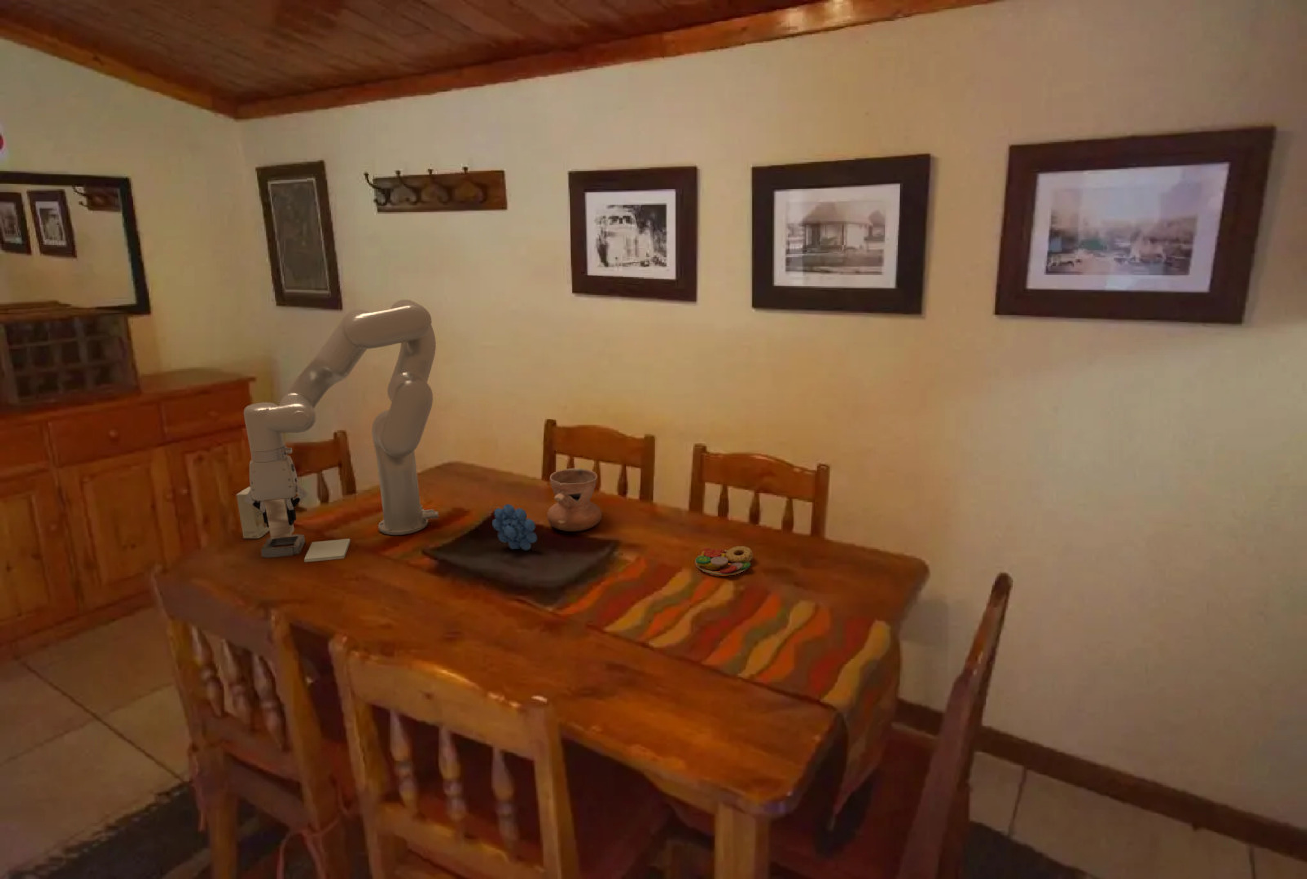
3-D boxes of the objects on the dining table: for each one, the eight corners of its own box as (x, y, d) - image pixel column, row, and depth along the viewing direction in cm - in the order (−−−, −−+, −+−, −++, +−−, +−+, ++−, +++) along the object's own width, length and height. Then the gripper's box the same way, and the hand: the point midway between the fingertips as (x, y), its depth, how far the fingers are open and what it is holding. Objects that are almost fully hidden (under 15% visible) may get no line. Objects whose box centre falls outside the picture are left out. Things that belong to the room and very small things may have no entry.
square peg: (294, 529, 193) (287, 492, 190) (290, 536, 189) (283, 499, 186) (275, 531, 192) (268, 494, 189) (271, 538, 188) (264, 500, 185)
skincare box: (259, 538, 198) (252, 494, 194) (243, 539, 198) (235, 494, 194) (272, 528, 204) (264, 485, 201) (255, 528, 204) (248, 485, 201)
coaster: (350, 541, 196) (349, 538, 196) (344, 558, 187) (343, 555, 186) (312, 545, 194) (312, 542, 194) (304, 562, 185) (304, 559, 184)
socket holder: (305, 540, 197) (304, 533, 196) (298, 554, 189) (297, 547, 188) (270, 544, 195) (268, 536, 194) (261, 558, 187) (260, 550, 186)
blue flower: (486, 554, 188) (482, 509, 184) (498, 543, 194) (495, 499, 190) (530, 559, 185) (527, 513, 181) (541, 548, 191) (538, 503, 188)
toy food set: (755, 558, 185) (756, 545, 184) (747, 583, 173) (747, 570, 172) (701, 552, 189) (701, 539, 188) (689, 576, 177) (689, 563, 176)
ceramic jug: (583, 542, 194) (582, 489, 190) (534, 532, 200) (532, 481, 196) (615, 518, 210) (614, 468, 206) (568, 509, 216) (567, 461, 212)
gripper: (309, 446, 190) (320, 515, 195) (235, 452, 186) (248, 521, 192) (303, 456, 183) (314, 526, 188) (226, 462, 179) (239, 533, 185)
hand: (280, 523), depth 190 cm, fingers closed on square peg, 4 cm apart
